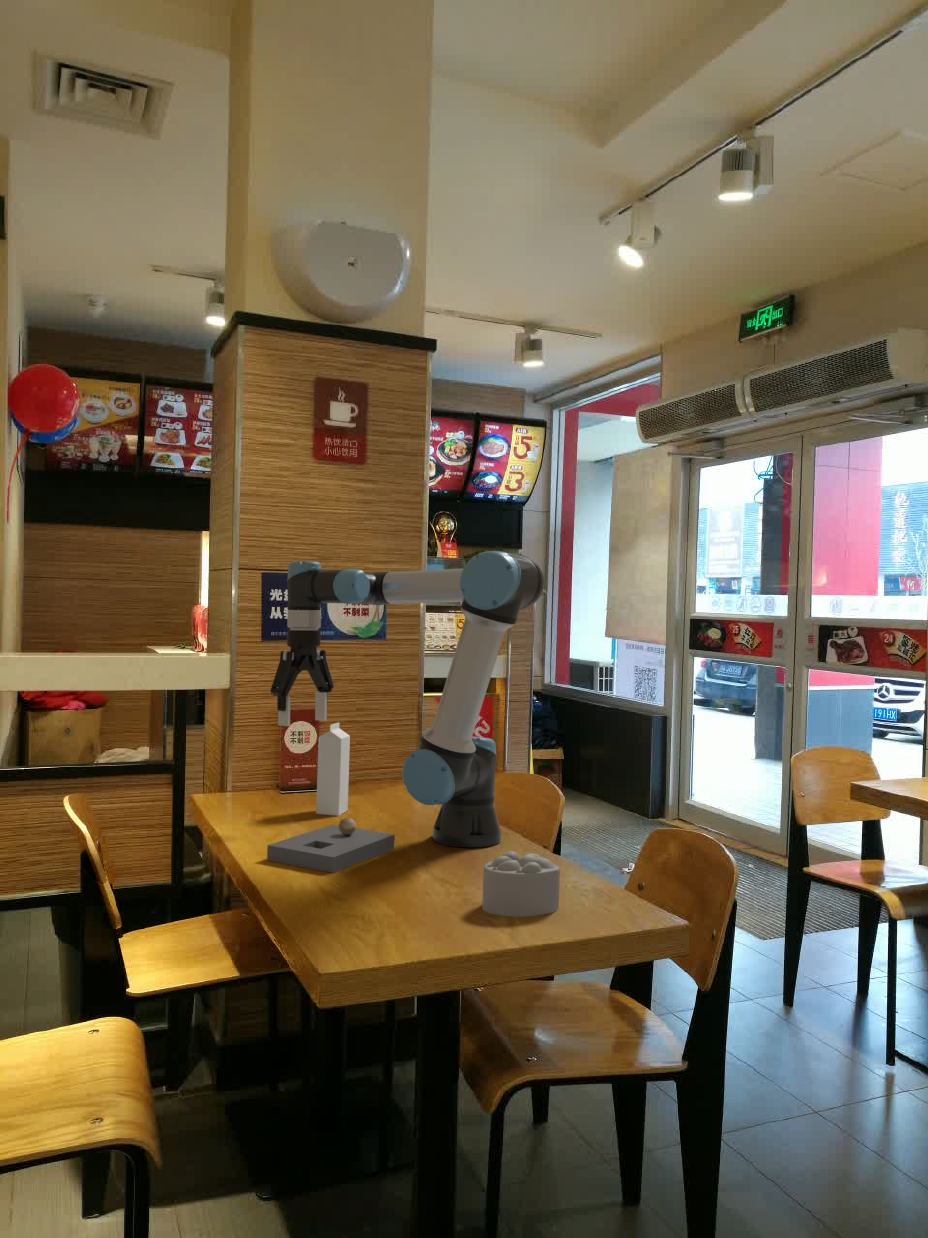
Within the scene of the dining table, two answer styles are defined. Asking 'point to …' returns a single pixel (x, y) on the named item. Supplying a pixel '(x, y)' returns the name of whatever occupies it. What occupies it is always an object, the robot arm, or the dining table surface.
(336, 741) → the milk
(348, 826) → the wooden ball
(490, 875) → the lumpy-topped squat cylinder
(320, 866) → the pocket board
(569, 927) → the dining table surface
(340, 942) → the dining table surface
